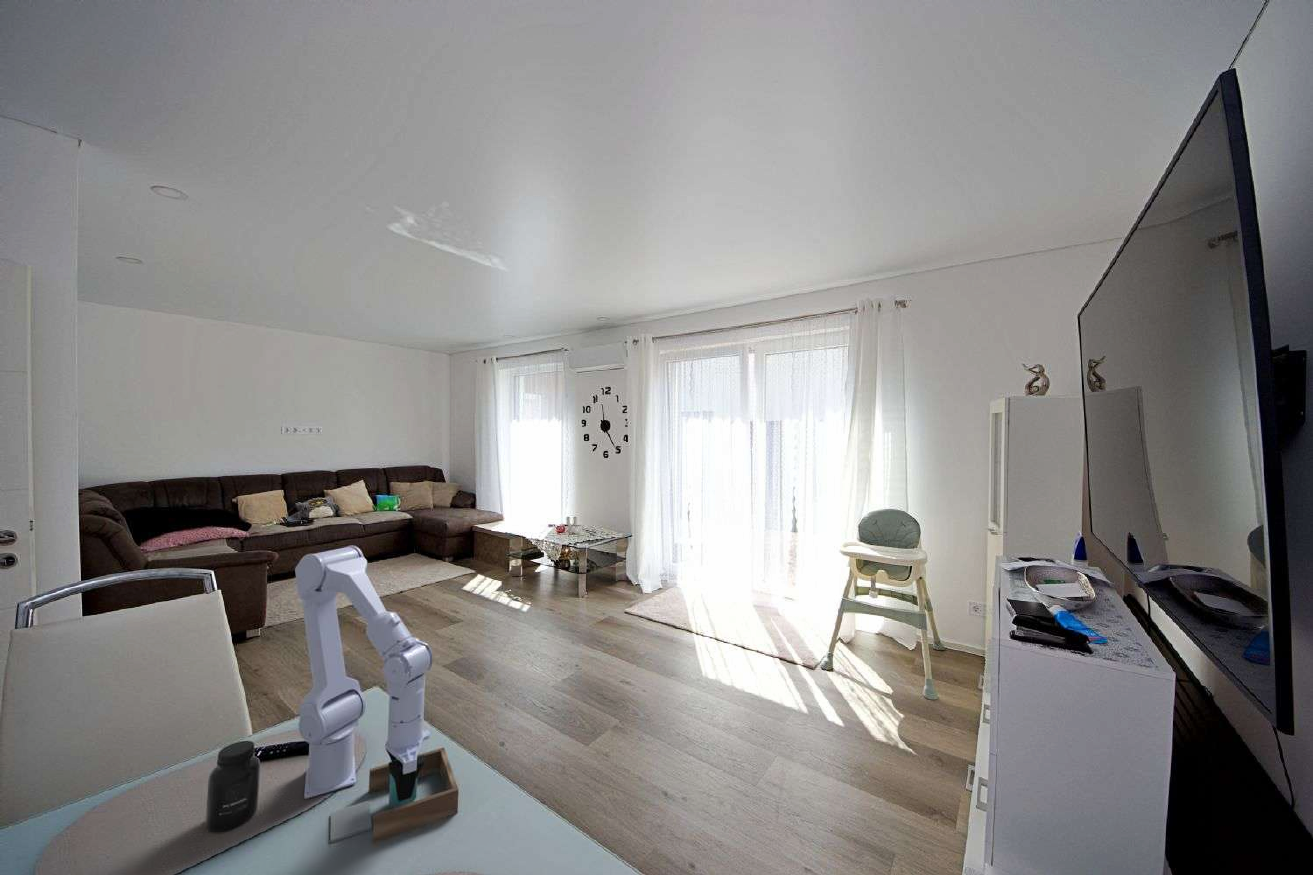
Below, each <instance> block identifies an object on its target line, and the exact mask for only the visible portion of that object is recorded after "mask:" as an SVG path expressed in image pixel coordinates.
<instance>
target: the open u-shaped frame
mask: <svg viewBox="0 0 1313 875" xmlns="http://www.w3.org/2000/svg"><path fill="white" fill-rule="evenodd" d="M421 755H424V757H425V762H424V765H423V766H422V768H421V770H420V772H419V774H418V776H417V779H418V778H422V777H425V776H428V775H432V774H434V773H437V772H439V773H440V776H441V779H442V783H443V786H444V791H442V792H441V791H440V792H438V793H435V794H432V795H429V796H426V797H424V798H420V799H418V800H417V799H416V800H414V801H413V802H412V803H409V804H406V805H403V806H400V807H397V808H391V809H388V810H386V811H383V812H380V813H377V814H374V815H373V816H374V817H373V837H372V838H373V839H372V842H373V844H374V843H378V842H380V841H382V840H385V839H388V838H391V837H394V836H396V835H399V834H400V835H401V834H402V833H405V832H408V831H410V830H411V831H412V830H413V829H415V828H419V827H420V826H424V825H426V824H430V823H432V822H435V821H437V820H440V819H443V818H445V817H446V818H447V817H448V816H450V815H453V814H456V813H459V812H458V810H459V788H458V787H459V786H458V784H457V781H456V778H455V776H454V773H453V770H452V767H451V764H450V761H449V758H448V756H447V751H446V749H445V747H441V748H437V749H434V750H430V751H426V752H424V753H420V754H418V756H421ZM418 756H417V757H418ZM368 776H369V777H368V793H369V794H371V793H376V792H378V791H381V790H384V789H387V788H390V771H389V766H388V763H386V764H382V765H380V766H379V765H378V766H375V767H373V768H372V767H371V768H369V774H368Z"/></svg>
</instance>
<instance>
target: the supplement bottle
mask: <svg viewBox="0 0 1313 875" xmlns="http://www.w3.org/2000/svg"><path fill="white" fill-rule="evenodd" d="M260 760H261V759H259V757H258V756H255V743H254V741H251V740H241V741H237V742H233V743H231V744H227V745H226V746H224V747H222V749H220V750H219V752H217V761H216V767H214V768H213V770H212V771H211V773H210V774H209V776H208V782H207V796H206V810H205V812H206V813H205V829H206V831H208V832H210V833H213V834H221V833H226V832H230V831H233V830H235V829H238V828H240V827H241V826H243V825H245V824H247V823H248V822H249V821H250V820H252V818H253V817H255V814H256V813H257V811H258V805H259V793H260V791H259V790H260V779H261V761H260Z"/></svg>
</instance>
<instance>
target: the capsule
mask: <svg viewBox="0 0 1313 875" xmlns="http://www.w3.org/2000/svg"><path fill="white" fill-rule="evenodd" d="M396 760H398V759H396ZM396 760H394V761H396ZM417 787H418V778H417V779H416V783H415V787H414V791H413V794H412V797H411V798H409V799H406V800H403V801H400V802H399V801H398V798H397V792H396V784H395V781H394V778H393V776H392V775H391V773H390V787H389V791H388V792H389V796H388V804H389V806H390V807H391V808H392V809H394V808H397V807H400V806H403V805H406V804H409V803H412V802H414V801H416V800H417V799H416V798H417V792H418V791H417V789H418V788H417Z"/></svg>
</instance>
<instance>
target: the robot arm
mask: <svg viewBox="0 0 1313 875" xmlns="http://www.w3.org/2000/svg"><path fill="white" fill-rule="evenodd" d="M367 569H368V560H367V559H366V558H365V556H364V554H363V552H362V550H361V549H360V548H359V547H358V546H357V545H348V546H345V547H342V548H336V549H332V550H331V549H330V550H326V551H322V552H316V553H308V554H305V555H303V557H302V558H301V559H300V560H299V562H298V564H296V566H295V568H294V571H295V572H294V573H295V580H296V587H297V592H298V593H297V594H298V599H300V600H301V606H302V614H303V622H304V628H305V636H306V641H307V649H308V656H309V657H308V658H309V664H310V670H311V671H310V672H311V677H312V684H313V686H312V688H311V689H310V690H309V692H308V693H307V694H306V696H304V698H303V699H302V701H301V702H300V703H299V709H300V711H299V712H300V716H299V721H298V732H299V735H300V736H301V738H302V739H303V740H304V741H305V742H306V743H308V744H309V746H308V767H307V768H306V772H305V783H304V794H303V795H304V796H303V797H304V799H306V800H307V799H309V798H313V797H316V796H320V795H323V794H326V793H330V792H333V791H337V790H339V789H343V788H346V787H349V786H353V785H355V784H356V783H357V779H356V777H357V776H356V775H357V774H356V763H355V762H356V759H355V755H354V753H355V751H354V749H355V748H354V747H355V728H356V727H357V726H359V720H360V719H361V718H362V717H363V716H364V714H365V712H366V698H365V696H364V694H363V693H362V690H361V687H360V681H359V680H357V679H354V678H351V677H348V676H347V674H346V673H347V672H346V667H345V658H344V653H343V652H344V651H343V646H342V645H343V644H342V638H341V632H340V624H339V618H338V611H337V610H338V609H337V604H336V596H337V595H338V593H342V594H344V595H345V597H346V598H347V599H348V600H349V602H350V603H351V605H353V606H354V608H355V609H356V611H358V613H359V614H360V615H361V616H362V618H363V619H364V620H365V621H366V623H367V624H366V628H365V635H366V637H367V638H368V640H369V641H370V643H371V644H372V646H373V647H374V649H375V650H376V652H377V654H378V655H379V657H380V658H381V660H382V661H383V662H384V666H383V667H381V672H382V676H383V679H384V681H385V683H386V692H387V695H388V696H389V697H388V698H389V699H388V700H389V701H388V724H387V740H386V742H385V751H386V752H387V754H388V756H389V758H390V762H388V763H387V764H388V766H389V771H390V773H391V775H392V776H393V778H394V781H395V784H396V792H397V798H398V801H399V802H400V801H403V800H406V799H409V798H411V797H412V794H413V791H414V787H415V783H416V779H417V780H418V778H417V776H418V774H419V772H420V770H421V768H422V766H423V765H424V762H425V757H424V755H421V756H418V755H419V753H420V750H421V748H422V745H423V743H424V741H427V740H429V739H430V737H431V733H430V731H429V730H428V729H425V730H424V716H425V714H424V713H425V712H424V711H425V688H426V673H427V672H428V671H430V670H431V667H433V662H434V655H433V652H432V649H431V648H430V645H429V644H428V643H426V642H425V641H423V640H422V641H421V640H420V639H419V638H418V637H413V635H412V634H411V633H410V631H409V630H408V628H407V626H406V625H405V624H404V622H403V621H402V619H401V617H400V616H399V615H398V613H397V612H394V611H388V610H386V609H387V608H385V606H384V604H383V602H382V600H381V598H380V596H379V595H378V593H377V591H376V589H375V587H374V586H373V584H372V582H371V580H370V578H369V576H368V575H367ZM417 756H418V757H417ZM396 759H398V760H396ZM394 760H396V761H394Z"/></svg>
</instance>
